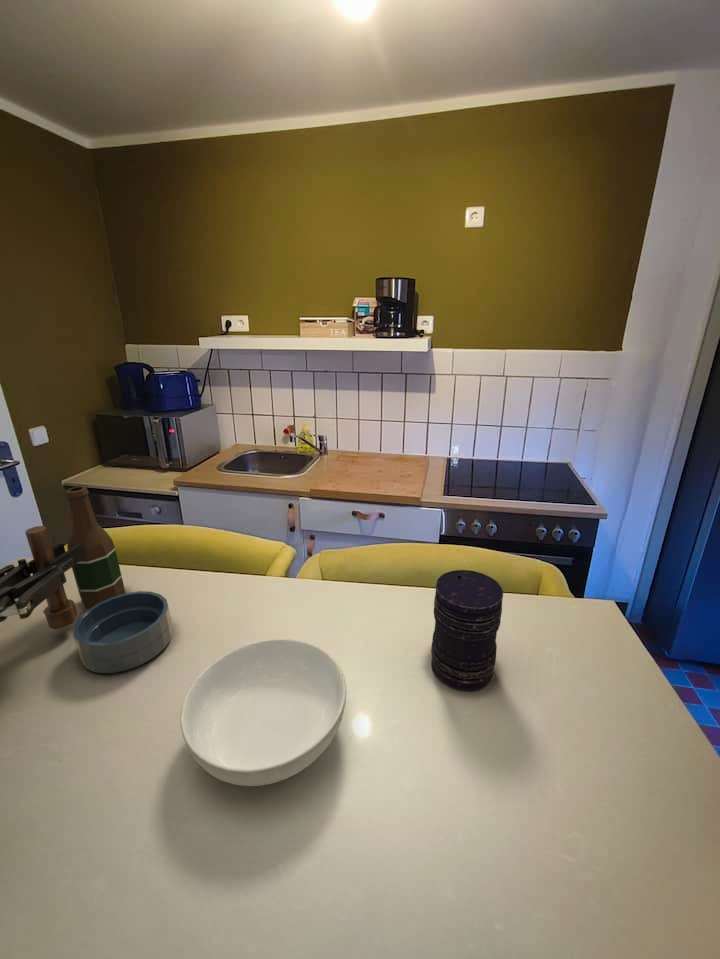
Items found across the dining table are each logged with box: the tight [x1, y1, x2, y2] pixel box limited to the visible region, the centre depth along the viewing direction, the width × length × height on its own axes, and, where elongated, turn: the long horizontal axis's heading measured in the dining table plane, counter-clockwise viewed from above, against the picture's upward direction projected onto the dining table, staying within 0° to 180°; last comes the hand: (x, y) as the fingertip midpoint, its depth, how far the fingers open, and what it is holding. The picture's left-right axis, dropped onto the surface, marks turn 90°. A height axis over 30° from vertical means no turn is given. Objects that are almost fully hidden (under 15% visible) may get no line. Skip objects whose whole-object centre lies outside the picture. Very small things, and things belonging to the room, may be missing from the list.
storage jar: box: [430, 569, 504, 693], centre depth 65 cm, size 10×10×15 cm
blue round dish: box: [72, 590, 174, 674], centre depth 73 cm, size 14×14×6 cm
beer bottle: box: [64, 485, 126, 611], centre depth 82 cm, size 8×8×24 cm
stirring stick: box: [24, 525, 79, 630], centre depth 73 cm, size 4×4×18 cm
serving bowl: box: [180, 638, 347, 787], centre depth 57 cm, size 21×21×7 cm
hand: (71, 550), depth 77 cm, fingers closed on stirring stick, 3 cm apart
